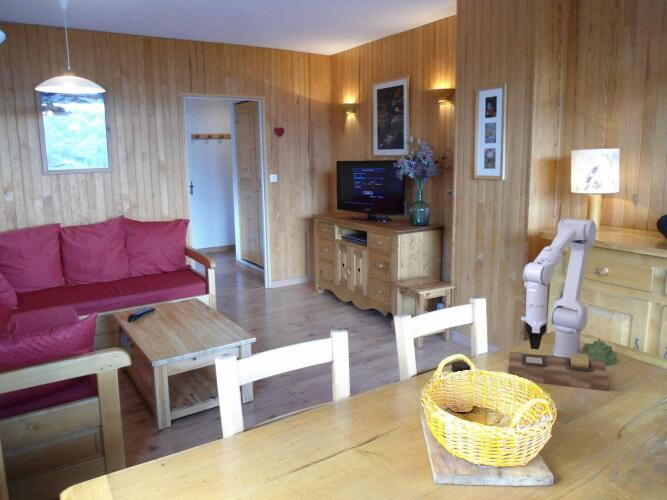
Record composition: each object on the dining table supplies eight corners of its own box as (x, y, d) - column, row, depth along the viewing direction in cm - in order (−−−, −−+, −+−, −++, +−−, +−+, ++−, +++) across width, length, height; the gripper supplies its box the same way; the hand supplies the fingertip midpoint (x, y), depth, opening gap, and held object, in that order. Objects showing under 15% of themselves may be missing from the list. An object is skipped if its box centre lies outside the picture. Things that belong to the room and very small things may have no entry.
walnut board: (509, 363, 163) (509, 350, 163) (602, 373, 154) (603, 359, 154) (507, 379, 152) (508, 365, 152) (607, 391, 143) (608, 375, 143)
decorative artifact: (590, 351, 171) (574, 359, 165) (591, 331, 170) (575, 338, 164) (621, 360, 163) (606, 369, 158) (623, 339, 162) (607, 347, 156)
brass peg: (569, 366, 154) (570, 352, 153) (586, 367, 152) (587, 354, 151) (570, 372, 149) (571, 358, 149) (587, 374, 148) (588, 359, 147)
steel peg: (525, 369, 158) (526, 356, 157) (541, 371, 157) (542, 358, 156) (525, 375, 154) (525, 362, 153) (541, 377, 153) (542, 363, 152)
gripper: (522, 296, 160) (520, 338, 162) (521, 310, 146) (519, 356, 149) (547, 297, 157) (545, 340, 160) (548, 312, 144) (546, 358, 146)
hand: (534, 348), depth 154 cm, fingers closed
